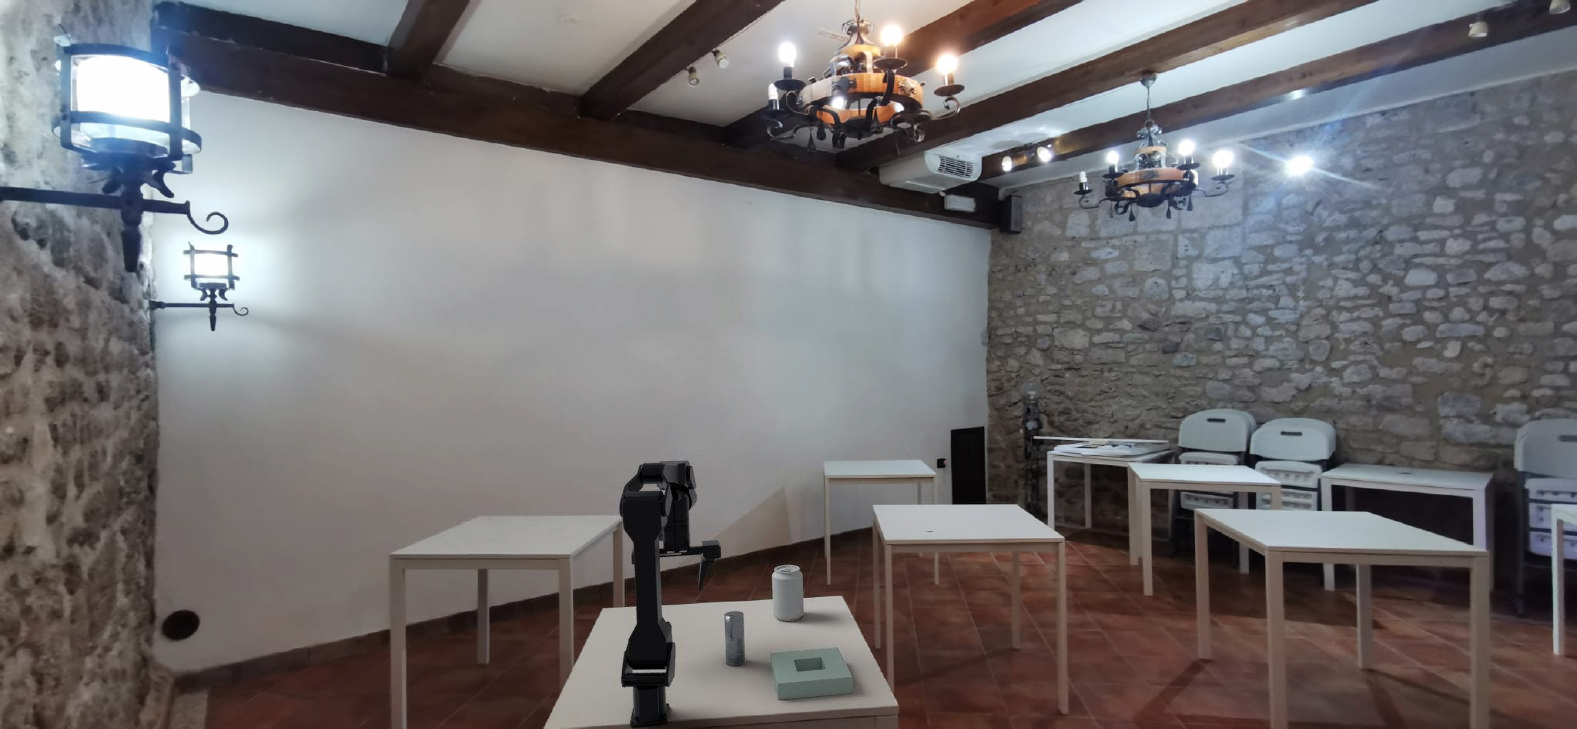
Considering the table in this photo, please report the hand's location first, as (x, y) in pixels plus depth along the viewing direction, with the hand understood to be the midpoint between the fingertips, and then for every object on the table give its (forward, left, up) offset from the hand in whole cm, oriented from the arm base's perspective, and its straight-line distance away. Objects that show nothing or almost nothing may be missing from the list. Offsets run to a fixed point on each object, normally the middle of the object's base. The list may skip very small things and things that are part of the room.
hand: (678, 592), depth 152 cm
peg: (-6, -12, -14) cm, 19 cm away
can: (+18, -26, -14) cm, 34 cm away
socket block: (-17, -26, -14) cm, 33 cm away
